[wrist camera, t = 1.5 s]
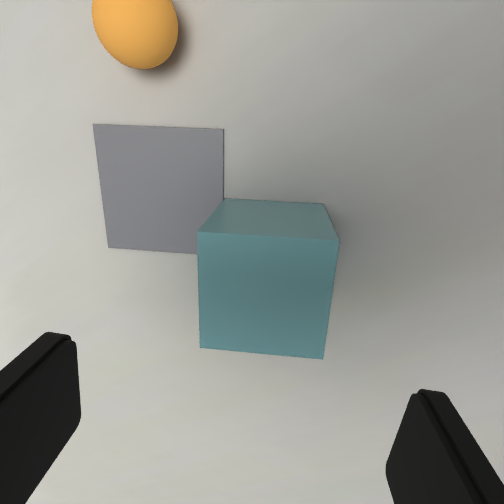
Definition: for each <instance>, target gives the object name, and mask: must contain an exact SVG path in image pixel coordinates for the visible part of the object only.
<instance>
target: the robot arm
mask: <svg viewBox="0 0 504 504" xmlns="http://www.w3.org/2000/svg"><path fill="white" fill-rule="evenodd" d="M80 419H81V405H80V391H79V376H78V362H77V347H76V343H75V342H74V341H72V340H71V337H70V336H69V335H66V334H59V333H53V332H46V333H44V334H43V335H42V336H40V337H39V338H38V339H37V340H36V341H35V342H33V343H32V344H31V345H30V346H29V347H28V348H26V349H25V350H24V351H23V352H22V353H21V354H19V355H18V356H17V357H16V358H15V359H14V360H12V361H11V362H10V363H9V364H8V365H7V366H5V367H4V368H3V369H2V370H1V371H0V504H25V503H26V502H27V500H28V499H29V497H30V496H31V494H32V493H33V491H34V490H35V489H36V487H37V486H38V484H39V483H40V481H41V480H42V478H43V477H44V475H45V474H46V472H47V471H48V470H49V468H50V467H51V465H52V464H53V462H54V461H55V459H56V458H57V456H58V455H59V453H60V452H61V451H62V449H63V448H64V446H65V445H66V443H67V442H68V440H69V439H70V437H71V436H72V434H73V433H74V432H75V430H76V428H77V427H78V425H79V422H80ZM386 477H387V481H388V485H389V488H390V491H391V494H392V497H393V501H394V504H504V485H503V483H502V481H501V480H500V478H499V477H498V475H497V474H496V472H495V470H494V469H493V467H492V466H491V464H490V462H489V461H488V459H487V458H486V456H485V455H484V453H483V451H482V450H481V448H480V447H479V445H478V444H477V442H476V440H475V439H474V437H473V436H472V434H471V433H470V431H469V429H468V428H467V426H466V425H465V423H464V421H463V420H462V418H461V417H460V415H459V414H458V412H457V410H456V409H455V407H454V406H453V404H452V403H451V401H450V399H449V398H448V396H447V395H446V394H445V393H443V392H438V391H432V390H425V389H420V390H419V391H418V392H417V394H412V395H411V397H410V400H409V402H408V405H407V408H406V411H405V413H404V416H403V419H402V422H401V424H400V427H399V430H398V433H397V435H396V438H395V441H394V444H393V446H392V449H391V452H390V455H389V457H388V460H387V463H386Z"/></svg>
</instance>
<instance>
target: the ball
mask: <svg viewBox="0 0 504 504" xmlns="http://www.w3.org/2000/svg"><path fill="white" fill-rule="evenodd" d="M92 18H93V24H94V27H95V31H96V33H97V36H98V38H99V40H100V41H101V43H102V45H103V46H104V48H105V49H106V50H107V51H108V52H109V53H110V54H111V55H112V56H113V57H114V58H115V59H116V60H118V61H119V62H121V63H123V64H124V65H126V66H129V67H132V68H136V69H149V68H154V67H156V66H159V65H160V64H162V63H163V62H164V61H166V60H167V59H168V57H169V56H170V55H171V53H172V52H173V50H174V48H175V45H176V42H177V37H178V20H177V15H176V12H175V8H174V6H173V4H172V1H171V0H93V3H92Z"/></svg>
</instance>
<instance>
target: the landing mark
mask: <svg viewBox="0 0 504 504" xmlns="http://www.w3.org/2000/svg"><path fill="white" fill-rule="evenodd" d="M93 130H94V138H95V146H96V154H97V162H98V170H99V178H100V186H101V194H102V201H103V209H104V217H105V225H106V233H107V241H108V248H118V249H132V250H146V251H160V252H174V253H188V254H198V250H197V231H198V230H199V229H200V227H201V226H202V225H203V224H204V223H205V222H206V220H207V219H208V218H209V217H210V216H211V215H212V213H213V212H214V211H215V210H216V209H217V207H218V206H219V205H220V204H221V203H222V202H223V155H224V129H206V128H181V127H156V126H131V125H106V124H93Z"/></svg>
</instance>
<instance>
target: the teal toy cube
mask: <svg viewBox="0 0 504 504" xmlns="http://www.w3.org/2000/svg"><path fill="white" fill-rule="evenodd" d="M338 248H339V239H338V237H337V234H336V232H335V230H334V227H333V225H332V223H331V220H330V218H329V216H328V213H327V211H326V209H325V207H324V204H315V203H297V202H280V201H262V200H245V199H227V198H225V199H224V200H223V202H222V203H221V204H220V205H219V206H218V207H217V209H216V210H215V211H214V212H213V213H212V215H211V216H210V217H209V218H208V219H207V220H206V222H205V223H204V224H203V225H202V226H201V227H200V229H199V230H198V231H197V250H198V290H199V331H200V348H207V349H218V350H229V351H239V352H250V353H260V354H271V355H281V356H292V357H303V358H313V359H323V357H324V350H325V342H326V335H327V328H328V321H329V313H330V306H331V299H332V291H333V284H334V277H335V269H336V262H337V255H338Z"/></svg>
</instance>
